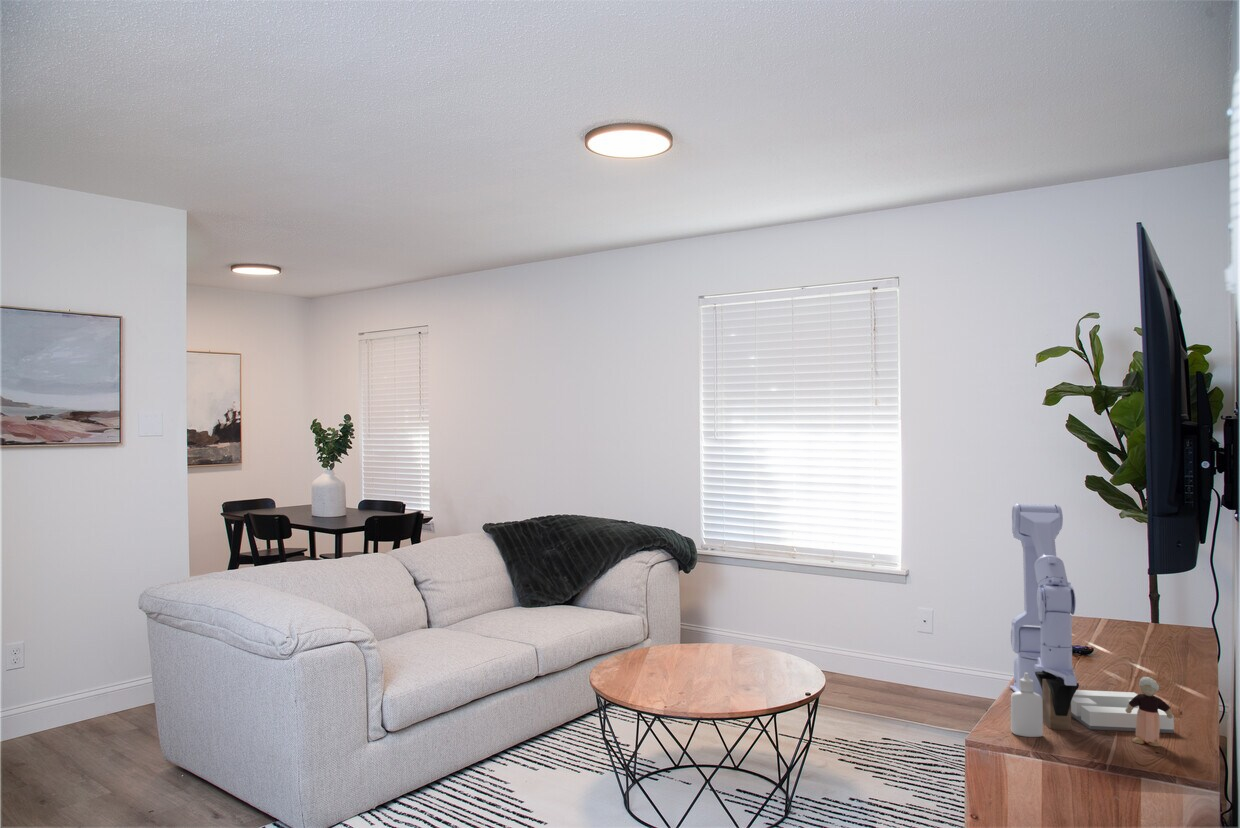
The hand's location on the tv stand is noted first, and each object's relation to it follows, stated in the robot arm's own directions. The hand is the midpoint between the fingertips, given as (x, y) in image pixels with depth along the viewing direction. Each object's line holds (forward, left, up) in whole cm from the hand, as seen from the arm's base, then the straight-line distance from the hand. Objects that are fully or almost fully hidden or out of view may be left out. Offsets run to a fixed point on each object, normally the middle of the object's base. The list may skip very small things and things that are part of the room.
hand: (1056, 711), depth 172 cm
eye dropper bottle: (+6, -8, -3) cm, 10 cm away
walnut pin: (0, 0, -3) cm, 3 cm away
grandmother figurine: (+8, +14, -3) cm, 16 cm away
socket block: (-7, +14, -3) cm, 16 cm away
